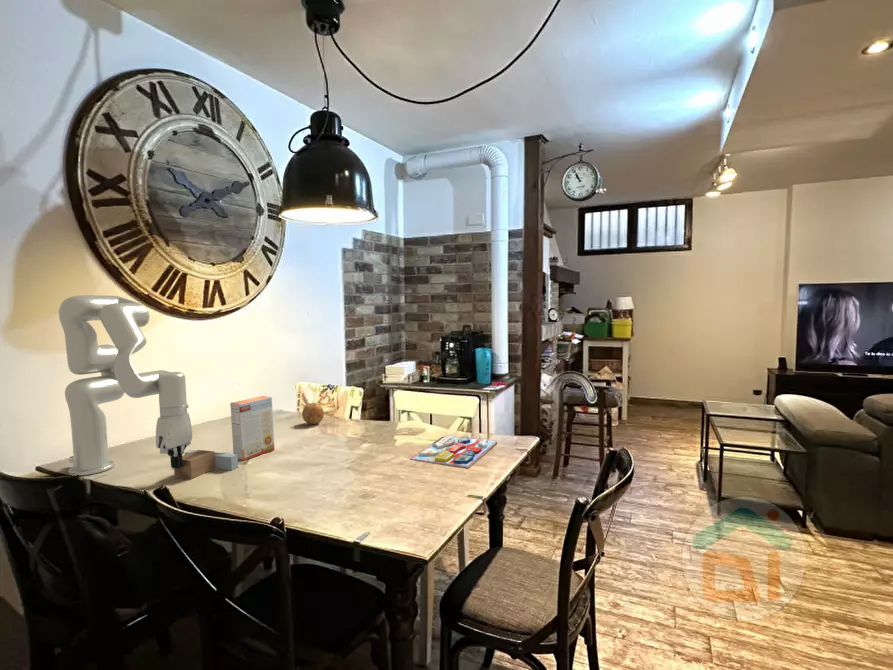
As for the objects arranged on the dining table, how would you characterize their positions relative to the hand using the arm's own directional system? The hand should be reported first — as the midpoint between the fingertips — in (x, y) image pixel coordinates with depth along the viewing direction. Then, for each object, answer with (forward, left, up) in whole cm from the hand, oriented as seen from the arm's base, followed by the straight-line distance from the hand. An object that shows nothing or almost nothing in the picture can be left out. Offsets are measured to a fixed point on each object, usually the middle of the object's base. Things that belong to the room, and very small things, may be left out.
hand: (177, 467), depth 150 cm
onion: (+4, +72, -4) cm, 72 cm away
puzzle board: (+79, +51, -5) cm, 94 cm away
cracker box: (+7, +28, -4) cm, 29 cm away
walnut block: (0, +7, -4) cm, 8 cm away
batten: (+1, +13, -4) cm, 14 cm away
